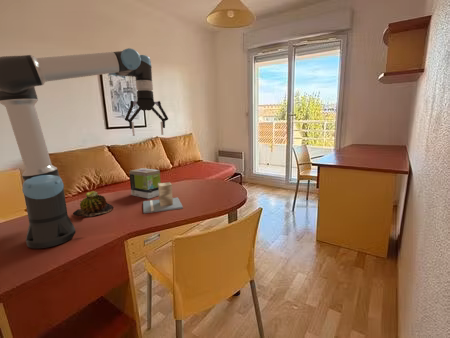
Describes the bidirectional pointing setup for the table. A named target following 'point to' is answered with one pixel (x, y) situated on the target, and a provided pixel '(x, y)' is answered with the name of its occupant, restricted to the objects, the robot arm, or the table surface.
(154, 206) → the board
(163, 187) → the beech block
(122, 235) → the table surface
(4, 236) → the table surface
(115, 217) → the table surface
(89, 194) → the cactus
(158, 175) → the tea box
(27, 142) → the robot arm
